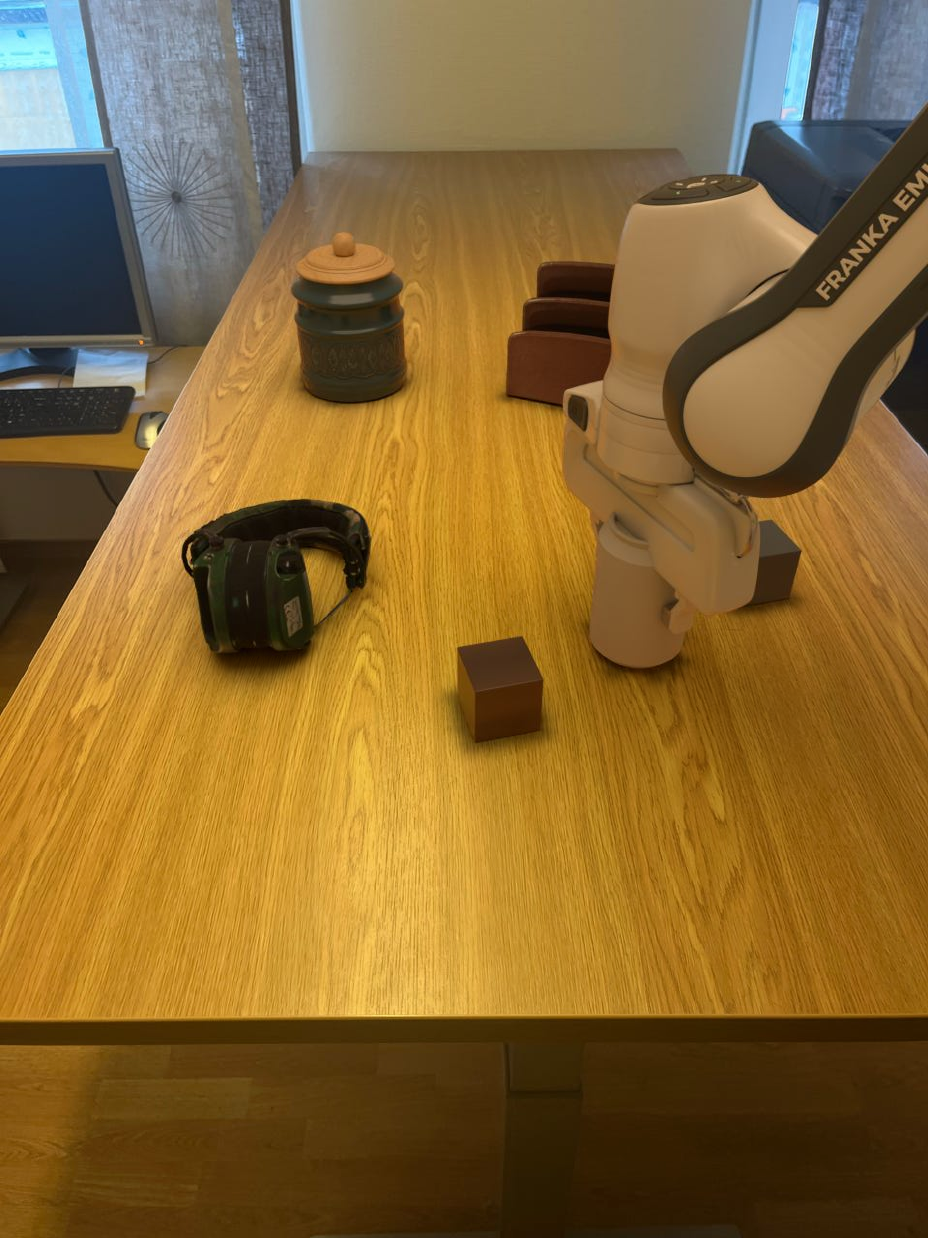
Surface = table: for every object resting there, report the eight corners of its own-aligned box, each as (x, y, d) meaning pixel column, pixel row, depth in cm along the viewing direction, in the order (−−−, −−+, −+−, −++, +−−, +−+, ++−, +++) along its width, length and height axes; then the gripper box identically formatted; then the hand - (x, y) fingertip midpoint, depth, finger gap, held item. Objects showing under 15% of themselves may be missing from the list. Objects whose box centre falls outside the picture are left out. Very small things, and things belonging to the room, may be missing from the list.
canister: (330, 354, 123) (316, 211, 112) (423, 367, 119) (418, 222, 108) (283, 395, 113) (263, 244, 102) (382, 411, 110) (372, 256, 99)
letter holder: (535, 365, 120) (540, 251, 111) (689, 393, 113) (707, 274, 105) (504, 396, 113) (507, 277, 104) (666, 427, 106) (684, 303, 97)
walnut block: (540, 730, 69) (544, 679, 66) (474, 743, 68) (474, 691, 65) (520, 685, 73) (522, 635, 70) (457, 697, 72) (456, 646, 69)
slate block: (789, 598, 81) (802, 550, 78) (736, 607, 80) (747, 559, 77) (760, 566, 85) (771, 518, 82) (710, 574, 84) (719, 527, 81)
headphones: (389, 615, 70) (389, 511, 88) (244, 503, 65) (275, 415, 82) (276, 726, 74) (298, 605, 92) (132, 629, 69) (183, 520, 87)
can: (581, 667, 74) (594, 539, 67) (594, 610, 80) (607, 487, 73) (678, 682, 73) (701, 553, 65) (684, 623, 79) (706, 498, 71)
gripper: (801, 491, 58) (759, 660, 67) (623, 368, 73) (607, 520, 81) (718, 514, 56) (685, 686, 65) (551, 383, 71) (543, 537, 79)
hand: (640, 592), depth 73 cm, fingers open, 8 cm apart
